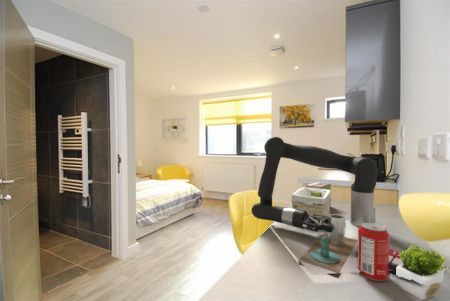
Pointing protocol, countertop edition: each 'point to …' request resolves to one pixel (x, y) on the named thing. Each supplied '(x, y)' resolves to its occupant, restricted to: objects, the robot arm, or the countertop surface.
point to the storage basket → (312, 201)
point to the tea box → (319, 186)
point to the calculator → (392, 260)
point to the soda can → (373, 251)
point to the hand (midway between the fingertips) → (335, 226)
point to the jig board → (332, 248)
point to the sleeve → (336, 229)
